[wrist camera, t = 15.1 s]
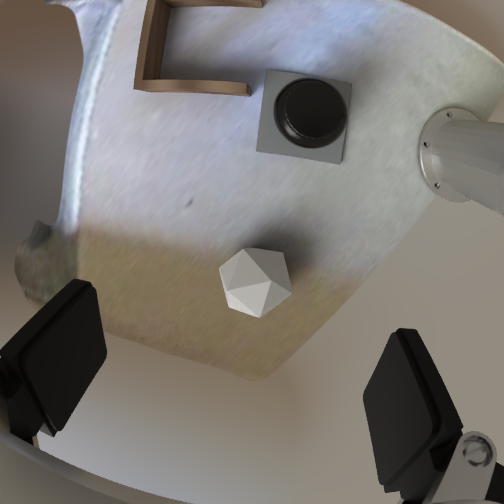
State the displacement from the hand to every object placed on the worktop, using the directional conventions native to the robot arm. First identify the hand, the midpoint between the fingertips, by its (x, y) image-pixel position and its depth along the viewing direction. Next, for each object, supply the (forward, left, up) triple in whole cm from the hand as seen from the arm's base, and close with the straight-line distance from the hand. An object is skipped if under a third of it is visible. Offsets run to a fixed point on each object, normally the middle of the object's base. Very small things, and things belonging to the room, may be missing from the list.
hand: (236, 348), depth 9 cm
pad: (-3, -8, -30) cm, 31 cm away
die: (0, +12, -31) cm, 33 cm away
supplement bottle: (-3, -8, -30) cm, 31 cm away
